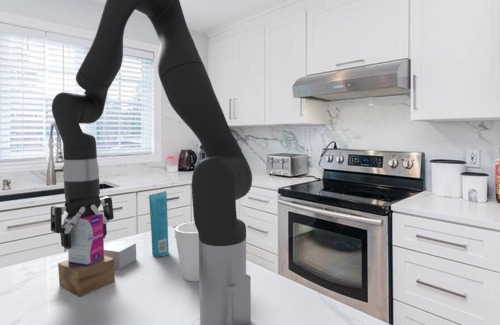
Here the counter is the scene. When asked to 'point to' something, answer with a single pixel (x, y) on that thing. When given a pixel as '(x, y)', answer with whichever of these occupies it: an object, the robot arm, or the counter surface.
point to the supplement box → (86, 241)
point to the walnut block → (86, 276)
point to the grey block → (121, 253)
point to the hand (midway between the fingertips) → (85, 242)
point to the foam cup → (188, 250)
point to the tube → (159, 224)
